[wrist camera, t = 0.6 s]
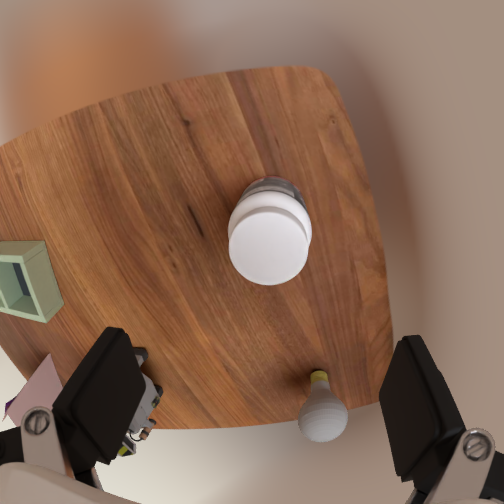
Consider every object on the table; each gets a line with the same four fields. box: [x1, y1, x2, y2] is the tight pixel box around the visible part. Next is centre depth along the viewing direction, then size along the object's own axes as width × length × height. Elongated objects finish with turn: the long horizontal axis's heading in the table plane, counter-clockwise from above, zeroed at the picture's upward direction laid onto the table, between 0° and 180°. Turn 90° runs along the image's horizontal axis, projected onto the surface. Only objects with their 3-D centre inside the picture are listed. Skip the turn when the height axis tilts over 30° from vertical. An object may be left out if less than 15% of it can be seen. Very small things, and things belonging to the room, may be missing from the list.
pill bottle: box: [228, 176, 312, 285], centre depth 22 cm, size 6×6×10 cm
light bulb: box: [298, 371, 348, 442], centre depth 30 cm, size 6×6×10 cm
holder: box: [0, 241, 64, 323], centre depth 31 cm, size 10×18×5 cm, turn 92°
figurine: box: [117, 348, 163, 457], centre depth 31 cm, size 9×12×15 cm
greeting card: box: [3, 353, 63, 427], centre depth 35 cm, size 11×7×15 cm, turn 133°
